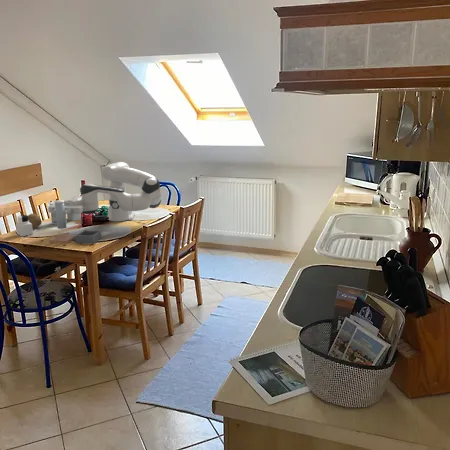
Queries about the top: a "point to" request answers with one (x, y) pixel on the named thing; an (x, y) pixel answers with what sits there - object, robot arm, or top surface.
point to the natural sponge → (34, 220)
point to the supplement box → (74, 216)
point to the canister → (60, 214)
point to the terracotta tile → (63, 238)
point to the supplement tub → (54, 216)
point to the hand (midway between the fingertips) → (59, 212)
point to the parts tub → (88, 237)
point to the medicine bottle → (24, 226)
